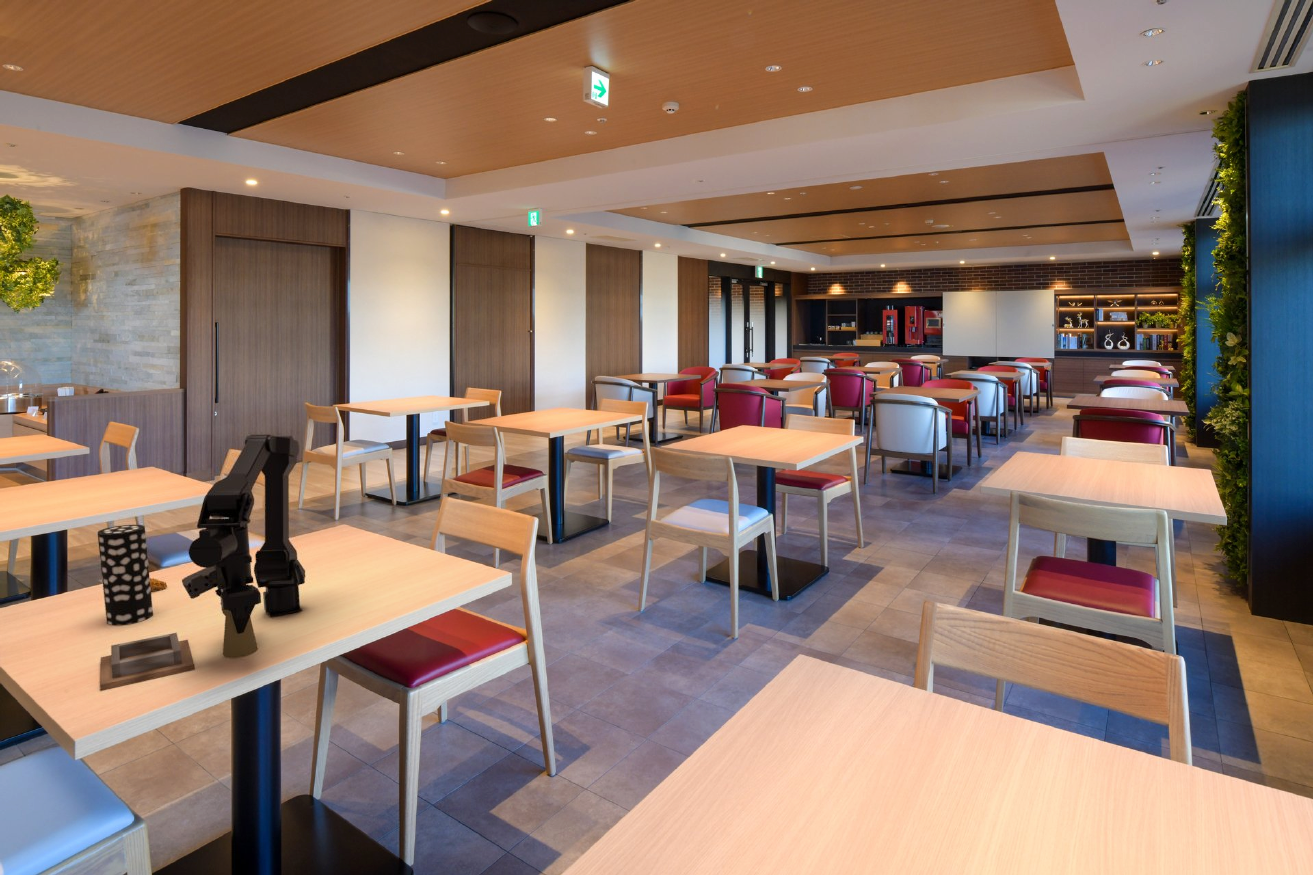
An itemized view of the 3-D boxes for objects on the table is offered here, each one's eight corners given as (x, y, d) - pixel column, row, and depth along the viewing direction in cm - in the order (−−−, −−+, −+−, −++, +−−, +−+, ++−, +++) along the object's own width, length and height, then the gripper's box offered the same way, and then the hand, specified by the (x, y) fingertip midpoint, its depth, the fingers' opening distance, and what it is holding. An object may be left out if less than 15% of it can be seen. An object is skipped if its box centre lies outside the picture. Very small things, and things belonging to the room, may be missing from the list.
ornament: (131, 564, 184) (103, 569, 170) (177, 570, 187) (154, 576, 172) (124, 591, 183) (96, 599, 169) (171, 597, 186) (147, 605, 171)
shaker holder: (188, 644, 148) (186, 627, 148) (194, 669, 137) (193, 651, 136) (101, 662, 140) (99, 644, 139) (100, 690, 129) (98, 671, 128)
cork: (242, 658, 141) (237, 603, 140) (215, 656, 142) (210, 601, 141) (264, 646, 147) (260, 593, 146) (238, 643, 148) (234, 591, 147)
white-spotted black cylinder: (161, 614, 164) (153, 527, 161) (121, 627, 156) (112, 536, 154) (138, 608, 167) (130, 523, 165) (98, 621, 160) (88, 531, 157)
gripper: (179, 547, 145) (186, 623, 147) (187, 571, 130) (194, 655, 132) (243, 538, 151) (249, 611, 153) (258, 560, 137) (264, 640, 139)
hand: (238, 629), depth 144 cm, fingers closed on cork, 4 cm apart
